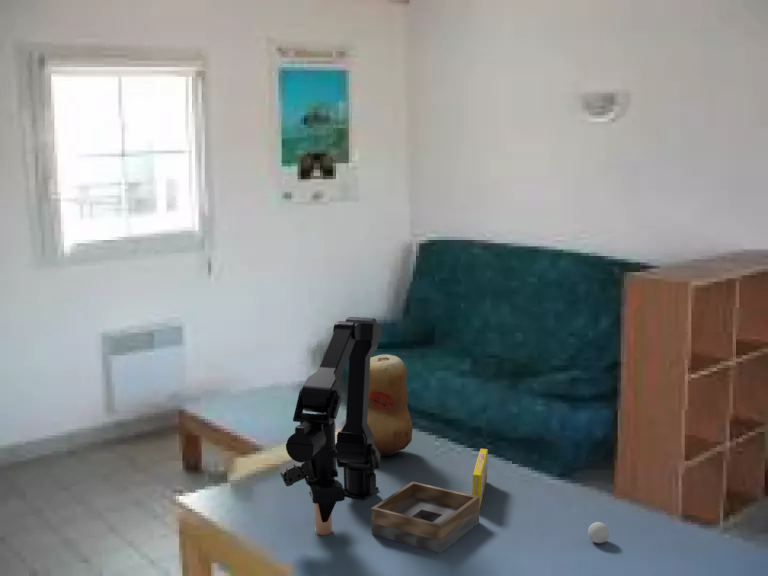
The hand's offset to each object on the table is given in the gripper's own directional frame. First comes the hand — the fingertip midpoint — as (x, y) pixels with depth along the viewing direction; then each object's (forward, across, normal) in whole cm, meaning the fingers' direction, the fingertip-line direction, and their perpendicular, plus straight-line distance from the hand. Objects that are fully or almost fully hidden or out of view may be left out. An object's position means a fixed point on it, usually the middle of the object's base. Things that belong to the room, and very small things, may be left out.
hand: (323, 518), depth 184 cm
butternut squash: (+3, -40, +21) cm, 45 cm away
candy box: (+3, -9, +36) cm, 37 cm away
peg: (+3, 0, 0) cm, 3 cm away
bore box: (+3, +4, +20) cm, 21 cm away
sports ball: (+3, +18, +52) cm, 55 cm away
